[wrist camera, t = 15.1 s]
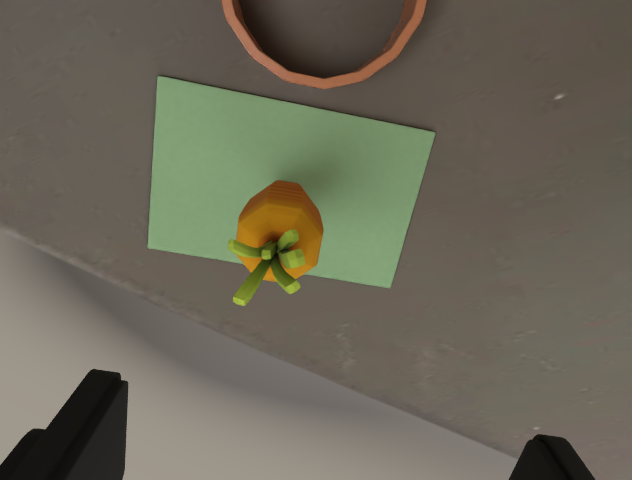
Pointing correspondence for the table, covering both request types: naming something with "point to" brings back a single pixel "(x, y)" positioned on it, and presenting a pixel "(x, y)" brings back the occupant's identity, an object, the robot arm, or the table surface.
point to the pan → (392, 48)
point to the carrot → (277, 238)
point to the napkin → (282, 175)
